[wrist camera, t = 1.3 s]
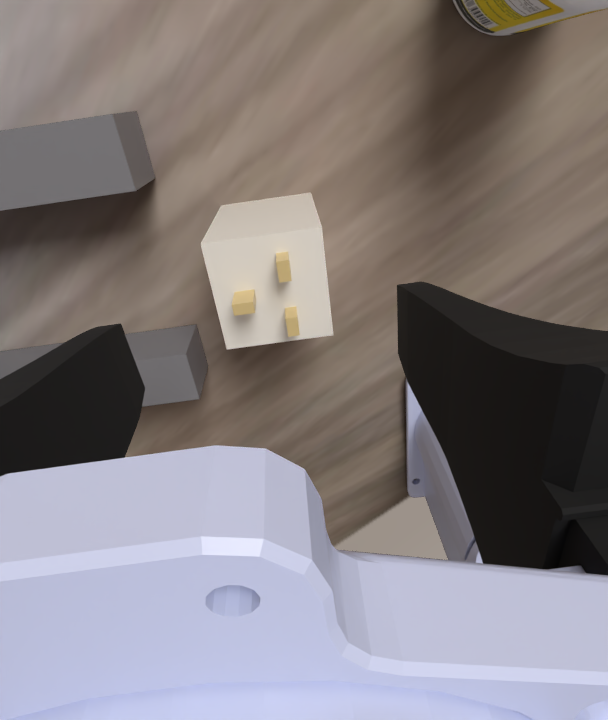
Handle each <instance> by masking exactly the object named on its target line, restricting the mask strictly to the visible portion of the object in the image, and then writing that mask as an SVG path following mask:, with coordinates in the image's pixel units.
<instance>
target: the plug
mask: <svg viewBox="0 0 608 720" xmlns="http://www.w3.org/2000/svg"><path fill="white" fill-rule="evenodd" d="M201 248H202V252H203V256H204V260H205V264H206V268H207V272H208V276H209V280H210V284H211V288H212V292H213V296H214V300H215V304H216V308H217V312H218V316H219V320H220V324H221V328H222V332H223V336H224V340H225V344H226V348H227V349H235V348H242V347H249V346H257V345H264V344H271V343H279V342H286V341H294V340H301V339H308V338H316V337H323V336H330V335H333V328H332V318H331V309H330V300H329V290H328V281H327V272H326V262H325V253H324V244H323V234H322V226H321V223H320V220H319V217H318V214H317V211H316V207H315V204H314V201H313V198H312V195H311V193H305V194H298V195H291V196H284V197H277V198H270V199H263V200H256V201H249V202H242V203H235V204H228V205H222V206H221V207H220V209H219V211H218V212H217V214H216V216H215V218H214V220H213V222H212V224H211V226H210V227H209V229H208V231H207V233H206V235H205V237H204V239H203V240H202V242H201Z"/></svg>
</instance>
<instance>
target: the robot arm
mask: <svg viewBox="0 0 608 720" xmlns="http://www.w3.org/2000/svg"><path fill="white" fill-rule="evenodd" d="M397 307H398V354H399V357H400V360H401V364H402V367H403V370H404V373H405V376H406V443H407V491H408V494H409V496H411V497H424V496H425V497H426V500H427V503H428V506H429V508H430V511H431V514H432V517H433V519H434V522H435V525H436V527H437V530H438V533H439V536H440V539H441V541H442V544H443V547H444V550H445V552H446V555H447V558H448V560H440V559H430V558H419V557H409V556H398V555H388V554H377V553H366V552H356V551H345V550H337V549H335V548H334V547H333V546H332V544H331V542H330V540H329V537H328V534H327V531H326V525H325V519H324V512H323V506H322V499H321V497H320V495H319V493H318V492H317V490H316V488H315V486H314V485H313V483H312V481H311V479H310V478H309V476H308V474H307V472H306V471H305V469H304V468H302V467H300V466H298V465H296V464H294V463H292V462H290V461H288V460H286V459H285V458H283V457H281V456H279V455H277V454H275V453H273V452H271V451H269V450H267V449H264V448H248V447H232V446H217V445H215V446H208V447H200V448H193V449H186V450H178V451H171V452H164V453H156V454H149V455H141V456H134V457H127V458H124V457H125V455H126V452H127V450H128V447H129V444H130V442H131V439H132V437H133V434H134V431H135V429H136V426H137V423H138V420H139V417H140V413H141V408H142V403H143V398H144V392H145V386H144V384H143V381H142V378H141V376H140V373H139V370H138V368H137V365H136V362H135V360H134V357H133V355H132V352H131V349H130V347H129V344H128V341H127V339H126V336H125V333H124V331H123V328H122V326H121V324H114V325H107V326H100V327H96V328H93V329H90V330H88V331H86V332H84V333H82V334H80V335H78V336H76V337H74V338H72V339H71V340H69V341H67V342H65V343H63V344H62V345H60V346H58V347H57V348H55V349H53V350H51V351H50V352H48V353H46V354H45V355H43V356H41V357H39V358H38V359H36V360H34V361H32V362H31V363H29V364H27V365H25V366H23V367H21V368H20V369H18V370H16V371H14V372H12V373H10V374H9V375H7V376H5V377H3V378H1V379H0V720H608V331H600V330H592V329H585V328H579V327H572V326H565V325H559V324H554V323H549V322H544V321H540V320H535V319H531V318H527V317H523V316H519V315H515V314H512V313H508V312H505V311H502V310H499V309H496V308H493V307H489V306H487V305H484V304H481V303H478V302H475V301H473V300H470V299H468V298H465V297H462V296H460V295H457V294H455V293H452V292H450V291H447V290H445V289H442V288H440V287H437V286H435V285H432V284H429V283H425V282H415V283H408V284H401V285H397ZM416 478H417V479H416ZM414 479H416V480H414Z"/></svg>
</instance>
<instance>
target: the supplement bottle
mask: <svg viewBox="0 0 608 720" xmlns="http://www.w3.org/2000/svg"><path fill="white" fill-rule="evenodd" d="M453 2H454V4H455V6H456V8H457V10H458V12H459V13H460V15H461V16H462V17H463V19H464V20H465V21H466V22H467V23H468V24H469V25H471V26H472V27H473V28H475V29H476V30H478V31H480V32H483V33H485V34H489V35H494V36H505V35H512V34H516V33H521V32H524V31H528V30H531V29H535V28H538V27H542V26H545V25H549V24H552V23H555V22H559V21H563V20H566V19H570V18H574V17H577V16H581V15H585V14H589V13H592V12H596V11H601V10H605V9H608V0H453Z"/></svg>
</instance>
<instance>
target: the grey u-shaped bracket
mask: <svg viewBox="0 0 608 720" xmlns="http://www.w3.org/2000/svg"><path fill="white" fill-rule="evenodd" d="M154 178H155V175H154V172H153V168H152V165H151V161H150V157H149V154H148V150H147V147H146V143H145V140H144V136H143V132H142V129H141V125H140V122H139V118H138V115H137V111H135V112H126V113H117V114H109V115H103V116H96V117H89V118H83V119H76V120H69V121H63V122H56V123H49V124H43V125H36V126H29V127H23V128H16V129H9V130H3V131H0V211H2V210H8V209H15V208H22V207H29V206H36V205H43V204H50V203H56V202H63V201H70V200H77V199H84V198H91V197H98V196H104V195H111V194H118V193H125V192H132V191H137V190H138V189H140V188H141V187H143V186H144V185H145V184H147V183H148V182H150V181H151V180H153V179H154ZM125 336H126V339H127V341H128V344H129V347H130V349H131V352H132V355H133V357H134V360H135V362H136V365H137V368H138V370H139V373H140V376H141V378H142V381H143V384H144V386H145V392H144V398H143V403H142V407H144V406H151V405H159V404H166V403H174V402H181V401H188V400H196V399H200V395H201V392H202V388H203V384H204V380H205V376H206V372H207V369H208V364H207V360H206V357H205V353H204V350H203V346H202V343H201V339H200V335H199V332H198V328H197V325H189V326H182V327H175V328H168V329H160V330H153V331H146V332H139V333H131V334H125ZM62 344H63V343H59V344H52V345H44V346H37V347H30V348H23V349H16V350H8V351H1V352H0V379H1V378H3V377H5V376H7V375H9V374H10V373H12V372H14V371H16V370H18V369H20V368H21V367H23V366H25V365H27V364H29V363H31V362H32V361H34V360H36V359H38V358H39V357H41V356H43V355H45V354H46V353H48V352H50V351H51V350H53V349H55V348H57V347H58V346H60V345H62Z"/></svg>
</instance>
